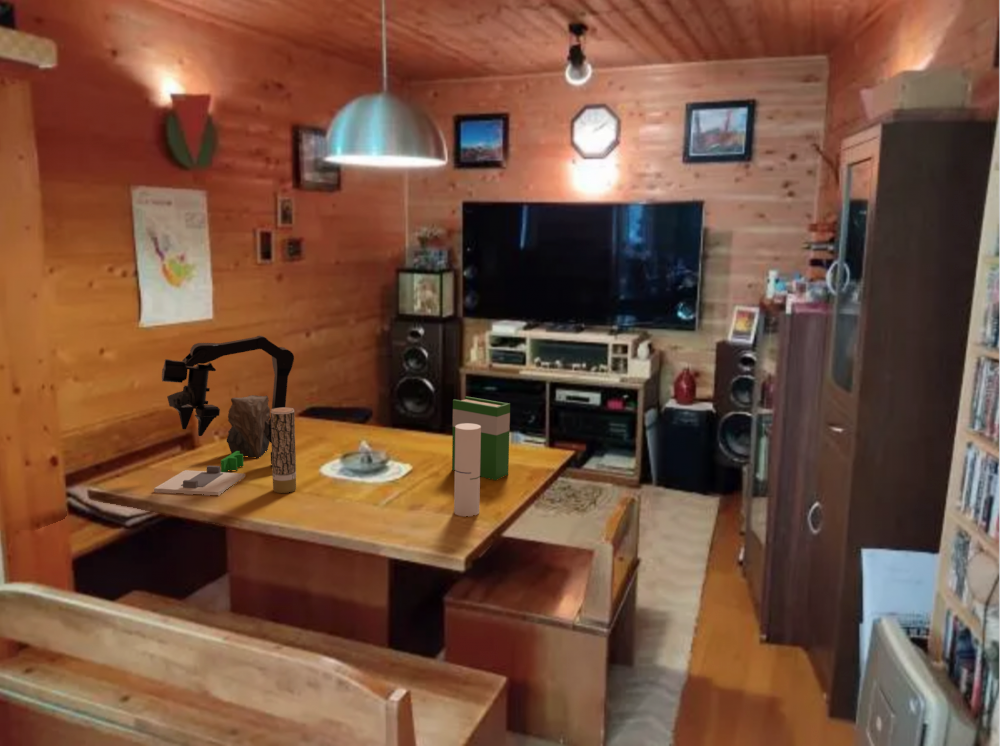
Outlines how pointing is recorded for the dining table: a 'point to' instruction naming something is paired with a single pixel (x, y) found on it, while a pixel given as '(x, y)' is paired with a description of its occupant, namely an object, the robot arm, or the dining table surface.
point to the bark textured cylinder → (283, 449)
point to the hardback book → (486, 433)
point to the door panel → (200, 482)
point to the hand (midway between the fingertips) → (192, 432)
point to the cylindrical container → (467, 469)
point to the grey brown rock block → (248, 425)
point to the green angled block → (232, 462)
